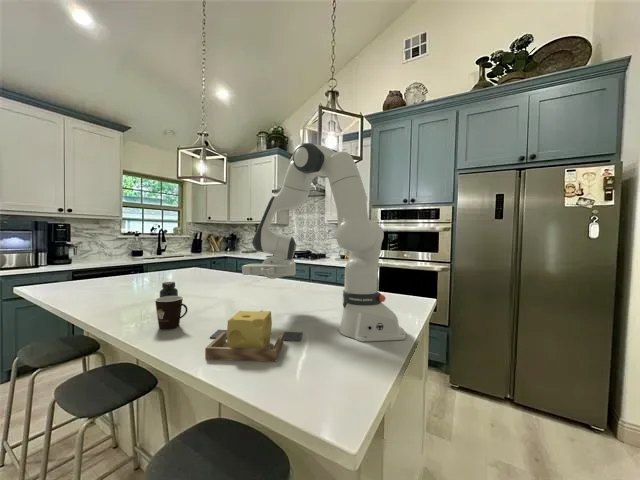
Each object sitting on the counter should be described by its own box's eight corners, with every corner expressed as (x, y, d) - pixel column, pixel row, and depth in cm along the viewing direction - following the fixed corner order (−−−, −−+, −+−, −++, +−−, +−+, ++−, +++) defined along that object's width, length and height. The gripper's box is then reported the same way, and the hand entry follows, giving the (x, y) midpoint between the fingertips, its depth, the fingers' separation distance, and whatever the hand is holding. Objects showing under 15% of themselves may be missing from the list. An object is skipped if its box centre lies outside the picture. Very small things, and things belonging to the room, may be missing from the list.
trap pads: (302, 333, 99) (302, 332, 99) (300, 341, 92) (300, 340, 92) (218, 330, 100) (218, 329, 100) (209, 338, 93) (209, 337, 93)
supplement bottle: (161, 309, 125) (161, 281, 124) (179, 308, 127) (179, 280, 126) (158, 313, 118) (157, 284, 118) (176, 312, 120) (176, 283, 120)
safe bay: (283, 343, 90) (283, 333, 90) (275, 361, 77) (275, 350, 77) (222, 341, 91) (222, 331, 91) (205, 359, 78) (205, 348, 78)
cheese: (262, 357, 80) (263, 321, 80) (224, 355, 81) (225, 319, 81) (272, 342, 91) (272, 310, 90) (238, 340, 92) (238, 309, 91)
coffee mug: (152, 326, 103) (151, 298, 103) (177, 321, 109) (177, 294, 109) (162, 335, 95) (162, 304, 95) (189, 329, 101) (189, 300, 101)
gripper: (247, 259, 118) (236, 263, 104) (297, 259, 117) (293, 262, 104) (247, 275, 118) (236, 280, 105) (297, 275, 118) (293, 280, 104)
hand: (265, 271), depth 104 cm, fingers closed
